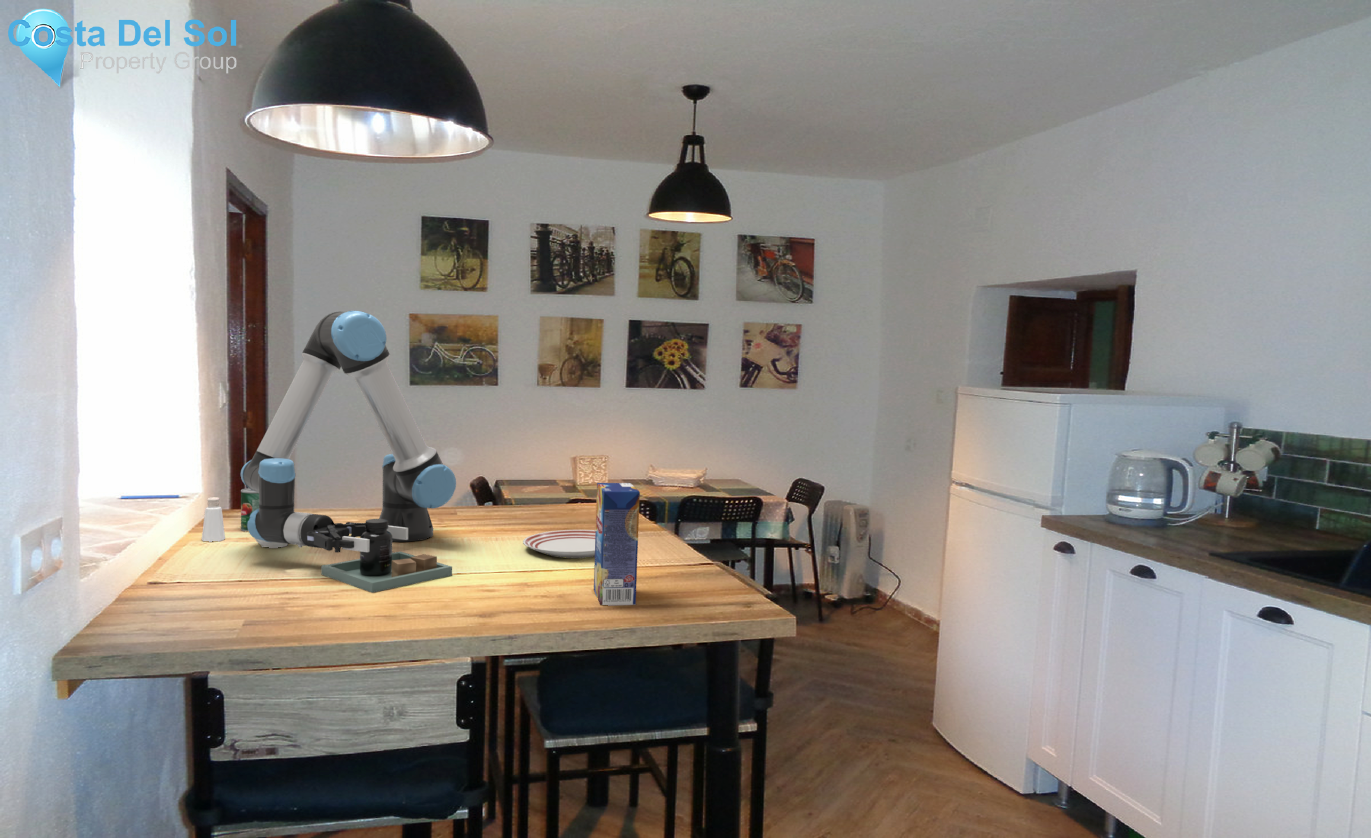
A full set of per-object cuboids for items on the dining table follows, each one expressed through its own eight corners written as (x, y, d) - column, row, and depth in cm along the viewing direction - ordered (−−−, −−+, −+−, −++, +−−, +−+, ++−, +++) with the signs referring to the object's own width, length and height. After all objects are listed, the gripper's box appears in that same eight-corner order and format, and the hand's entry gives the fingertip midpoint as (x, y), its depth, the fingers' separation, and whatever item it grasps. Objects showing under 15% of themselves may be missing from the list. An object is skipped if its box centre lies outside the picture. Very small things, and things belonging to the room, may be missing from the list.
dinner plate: (506, 558, 216) (506, 545, 216) (543, 536, 243) (543, 525, 243) (611, 567, 211) (612, 554, 211) (637, 544, 238) (638, 532, 238)
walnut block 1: (409, 576, 192) (409, 558, 191) (415, 580, 188) (416, 562, 188) (391, 578, 189) (391, 560, 189) (397, 582, 186) (397, 564, 186)
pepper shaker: (196, 540, 221) (196, 498, 220) (216, 536, 226) (216, 495, 225) (210, 543, 219) (210, 500, 218) (230, 539, 224) (230, 497, 223)
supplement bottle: (352, 574, 191) (353, 521, 190) (374, 567, 197) (375, 516, 197) (377, 578, 189) (378, 524, 188) (398, 571, 195) (399, 519, 194)
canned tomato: (278, 528, 239) (279, 489, 238) (254, 533, 232) (254, 493, 231) (258, 525, 242) (258, 486, 242) (234, 529, 235) (234, 490, 234)
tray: (400, 563, 206) (400, 551, 206) (451, 579, 194) (452, 566, 193) (321, 578, 190) (321, 565, 190) (372, 597, 178) (372, 583, 178)
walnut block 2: (423, 571, 196) (423, 553, 196) (436, 573, 194) (436, 556, 194) (410, 574, 193) (410, 557, 192) (423, 577, 191) (423, 559, 191)
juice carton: (635, 604, 180) (639, 491, 178) (600, 605, 178) (604, 491, 176) (626, 589, 192) (630, 482, 190) (593, 589, 190) (597, 482, 188)
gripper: (347, 535, 210) (421, 545, 203) (269, 557, 186) (350, 568, 180) (347, 505, 209) (422, 513, 203) (269, 523, 186) (350, 533, 179)
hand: (388, 539), depth 191 cm, fingers open, 13 cm apart
